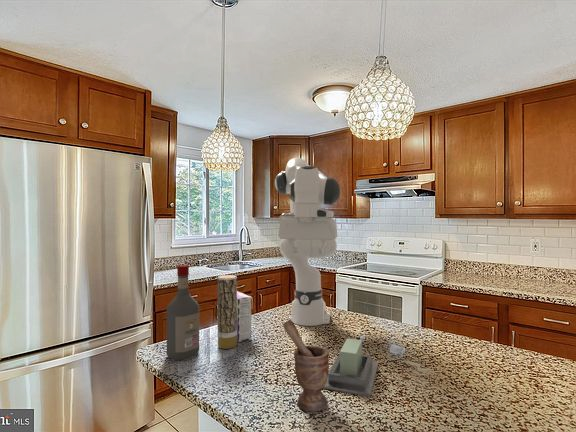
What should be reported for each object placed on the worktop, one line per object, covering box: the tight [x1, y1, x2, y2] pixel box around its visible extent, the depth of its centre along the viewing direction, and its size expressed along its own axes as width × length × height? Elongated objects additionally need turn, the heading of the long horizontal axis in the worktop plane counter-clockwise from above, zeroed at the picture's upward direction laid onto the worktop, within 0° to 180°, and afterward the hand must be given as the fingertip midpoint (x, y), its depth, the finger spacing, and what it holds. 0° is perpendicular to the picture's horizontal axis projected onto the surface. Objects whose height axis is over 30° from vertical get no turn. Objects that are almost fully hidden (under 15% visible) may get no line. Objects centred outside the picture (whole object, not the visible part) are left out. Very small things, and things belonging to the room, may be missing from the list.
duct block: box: [339, 338, 363, 377], centre depth 99 cm, size 4×11×8 cm, turn 160°
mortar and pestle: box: [282, 319, 330, 412], centre depth 84 cm, size 12×9×20 cm
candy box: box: [237, 290, 252, 343], centre depth 133 cm, size 14×6×16 cm, turn 33°
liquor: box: [166, 264, 200, 362], centre depth 115 cm, size 9×9×30 cm
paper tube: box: [217, 274, 238, 350], centre depth 122 cm, size 7×7×25 cm
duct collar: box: [322, 353, 379, 398], centre depth 99 cm, size 20×13×3 cm, turn 160°
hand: (307, 252), depth 116 cm, fingers open, 8 cm apart
